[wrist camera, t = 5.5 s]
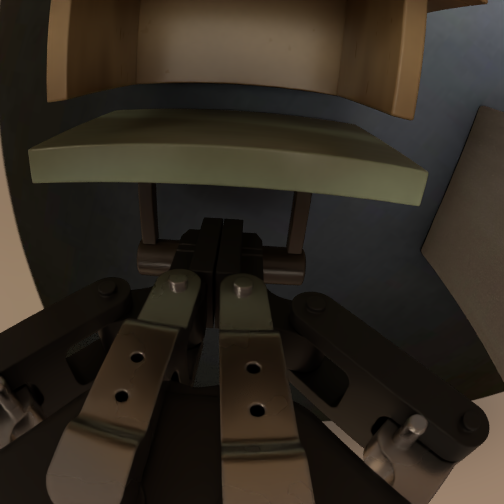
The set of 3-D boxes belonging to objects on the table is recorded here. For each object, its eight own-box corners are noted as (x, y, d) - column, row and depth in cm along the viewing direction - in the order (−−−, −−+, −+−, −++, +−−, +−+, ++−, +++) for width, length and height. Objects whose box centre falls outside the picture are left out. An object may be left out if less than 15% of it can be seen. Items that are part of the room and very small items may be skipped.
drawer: (334, 233, 19) (375, 329, 12) (122, 219, 18) (63, 307, 11) (373, -75, 9) (442, -133, 2) (134, -88, 8) (72, -150, 2)
